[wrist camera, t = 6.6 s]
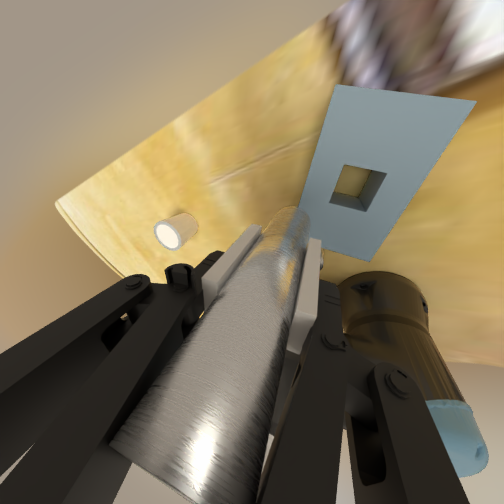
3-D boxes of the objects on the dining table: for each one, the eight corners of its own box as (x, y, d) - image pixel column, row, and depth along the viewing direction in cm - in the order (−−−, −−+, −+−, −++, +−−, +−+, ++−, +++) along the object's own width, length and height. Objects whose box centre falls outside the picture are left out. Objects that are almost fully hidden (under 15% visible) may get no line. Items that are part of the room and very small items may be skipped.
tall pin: (305, 245, 17) (242, 537, 4) (270, 236, 18) (132, 463, 5) (315, 210, 15) (258, 545, 3) (276, 202, 16) (83, 427, 3)
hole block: (362, 240, 31) (369, 262, 26) (295, 221, 34) (288, 237, 28) (437, 111, 21) (477, 101, 16) (333, 97, 24) (335, 84, 18)
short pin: (320, 256, 36) (318, 274, 31) (302, 251, 37) (298, 268, 32) (326, 241, 34) (326, 259, 29) (308, 236, 35) (305, 252, 30)
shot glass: (205, 229, 42) (186, 243, 37) (189, 241, 46) (170, 255, 40) (185, 204, 40) (163, 215, 35) (170, 219, 44) (148, 231, 39)
